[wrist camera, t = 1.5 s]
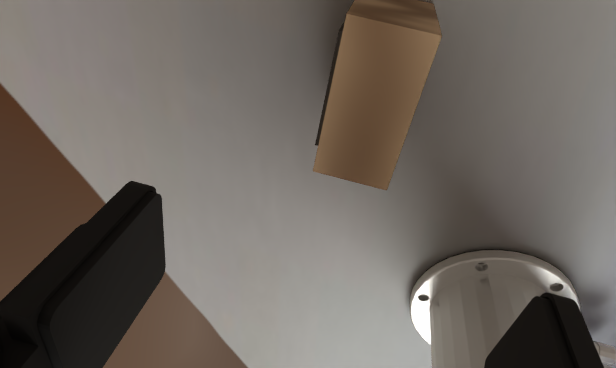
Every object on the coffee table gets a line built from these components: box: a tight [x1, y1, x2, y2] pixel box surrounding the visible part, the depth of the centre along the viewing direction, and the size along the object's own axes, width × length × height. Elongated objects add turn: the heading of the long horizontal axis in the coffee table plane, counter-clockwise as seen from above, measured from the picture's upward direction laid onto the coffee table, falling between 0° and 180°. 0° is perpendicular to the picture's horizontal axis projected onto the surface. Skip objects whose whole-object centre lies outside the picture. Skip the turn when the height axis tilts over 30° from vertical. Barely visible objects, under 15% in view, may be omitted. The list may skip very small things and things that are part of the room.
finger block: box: [313, 0, 442, 190], centre depth 22 cm, size 4×8×7 cm, turn 170°
